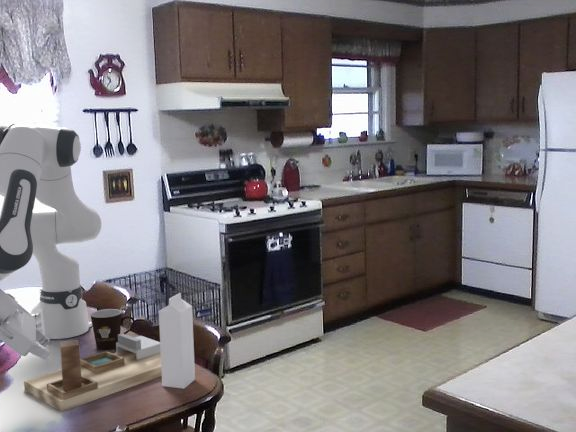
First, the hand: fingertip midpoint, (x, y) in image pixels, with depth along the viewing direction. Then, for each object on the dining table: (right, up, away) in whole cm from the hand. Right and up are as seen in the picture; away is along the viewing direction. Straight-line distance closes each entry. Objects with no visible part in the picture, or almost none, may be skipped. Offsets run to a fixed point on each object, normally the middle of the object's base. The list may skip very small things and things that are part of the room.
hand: (48, 350), depth 143 cm
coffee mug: (+4, -8, +39) cm, 40 cm away
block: (+4, -10, +3) cm, 11 cm away
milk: (+27, -11, +12) cm, 32 cm away
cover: (+14, -6, +27) cm, 31 cm away
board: (+9, -11, +15) cm, 20 cm away
